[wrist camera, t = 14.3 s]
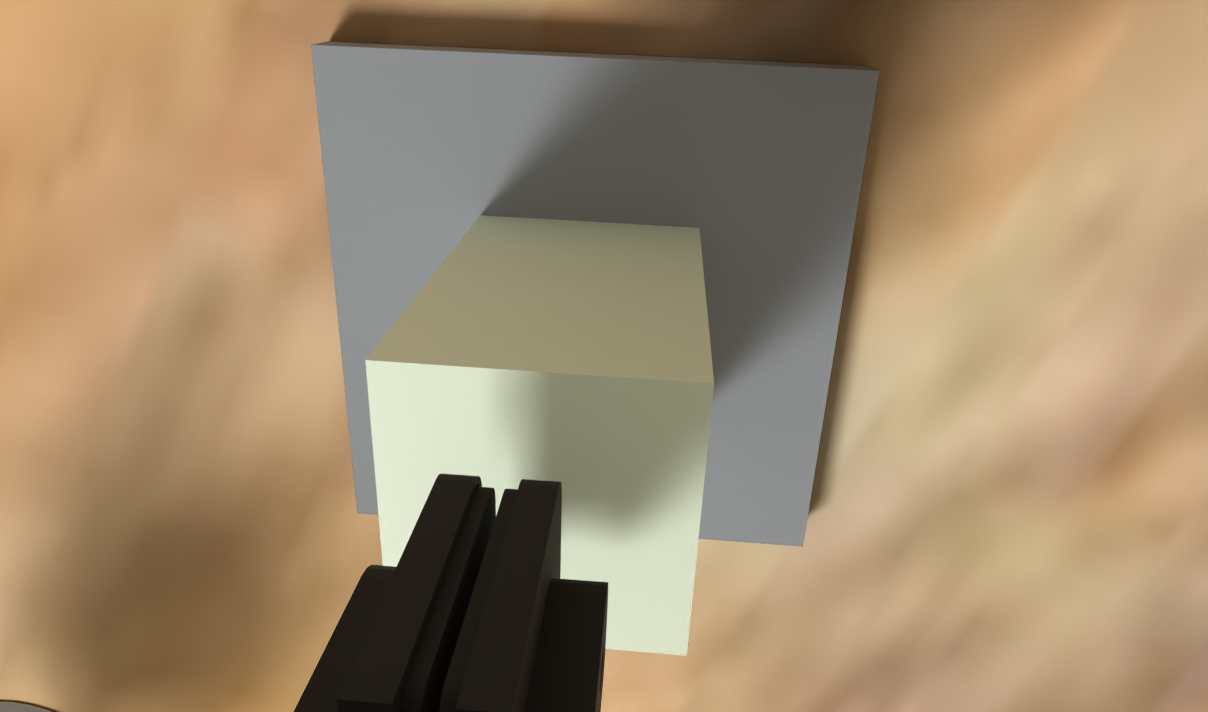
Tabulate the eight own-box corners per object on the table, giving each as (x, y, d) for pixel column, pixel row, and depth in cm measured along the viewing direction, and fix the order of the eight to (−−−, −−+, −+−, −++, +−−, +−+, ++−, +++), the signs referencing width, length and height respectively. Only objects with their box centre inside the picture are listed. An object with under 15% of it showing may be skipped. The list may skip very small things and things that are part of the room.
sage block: (699, 227, 19) (714, 383, 12) (682, 422, 21) (687, 655, 14) (480, 215, 20) (365, 360, 12) (484, 408, 22) (388, 630, 14)
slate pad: (869, 65, 19) (879, 71, 18) (798, 524, 24) (802, 546, 23) (327, 41, 19) (310, 44, 18) (369, 492, 24) (357, 513, 23)
